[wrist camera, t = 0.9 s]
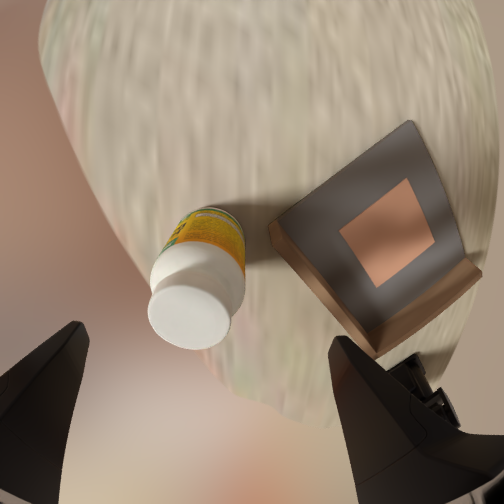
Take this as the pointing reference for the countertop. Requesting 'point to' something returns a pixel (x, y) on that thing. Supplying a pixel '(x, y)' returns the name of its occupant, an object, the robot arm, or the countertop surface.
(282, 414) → the countertop surface
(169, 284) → the supplement bottle
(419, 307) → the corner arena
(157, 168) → the countertop surface
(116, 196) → the countertop surface
